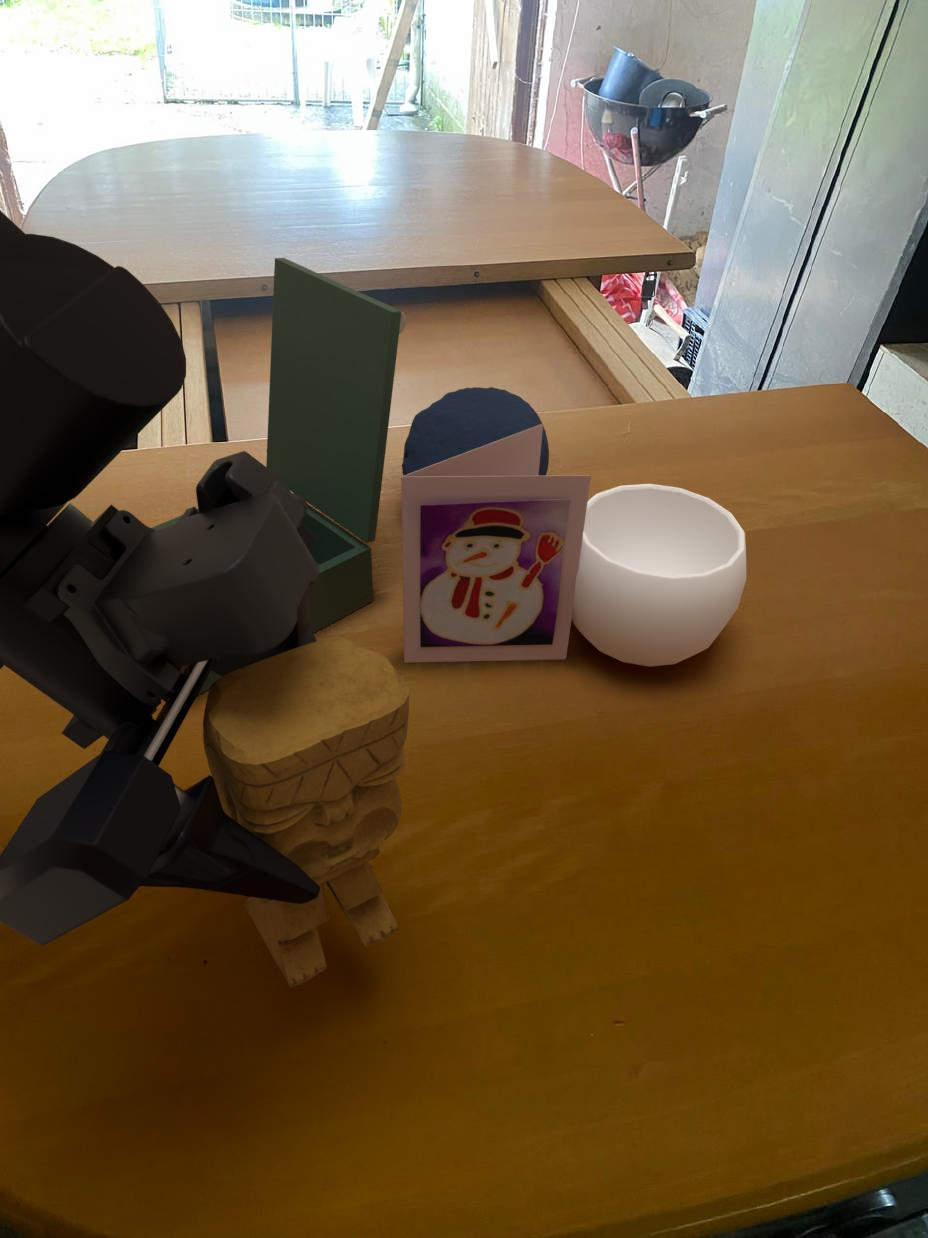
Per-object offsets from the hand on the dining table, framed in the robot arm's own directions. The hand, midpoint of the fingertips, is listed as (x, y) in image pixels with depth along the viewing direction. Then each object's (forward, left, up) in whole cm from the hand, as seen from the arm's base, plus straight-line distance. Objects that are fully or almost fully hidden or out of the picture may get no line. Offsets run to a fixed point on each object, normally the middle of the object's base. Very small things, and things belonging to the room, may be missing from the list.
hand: (339, 814), depth 38 cm
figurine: (-1, +1, -8) cm, 8 cm away
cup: (+32, +2, -13) cm, 35 cm away
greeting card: (+25, +11, -13) cm, 31 cm away
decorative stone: (+37, +21, -13) cm, 45 cm away
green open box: (+16, +27, -13) cm, 34 cm away
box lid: (+25, +26, 0) cm, 36 cm away
